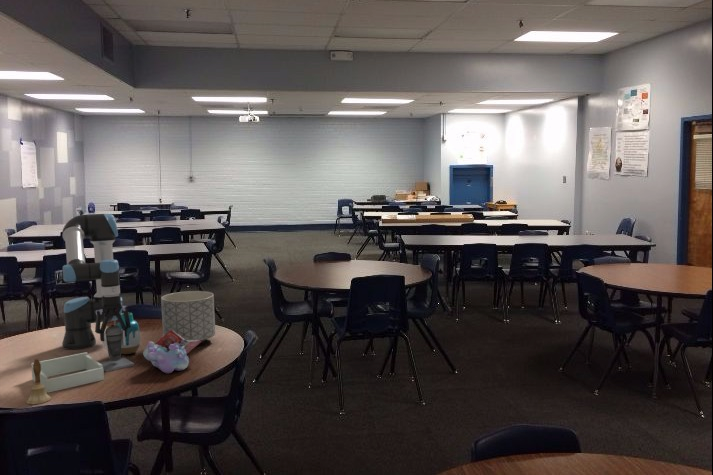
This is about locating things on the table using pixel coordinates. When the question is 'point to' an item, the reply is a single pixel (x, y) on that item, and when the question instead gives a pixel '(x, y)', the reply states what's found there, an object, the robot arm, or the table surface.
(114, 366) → the slate tile
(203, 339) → the planter
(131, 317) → the vase
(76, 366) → the frame
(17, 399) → the table surface
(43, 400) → the hand bell
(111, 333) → the beverage cup
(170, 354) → the pastel lumpy cloud blob
